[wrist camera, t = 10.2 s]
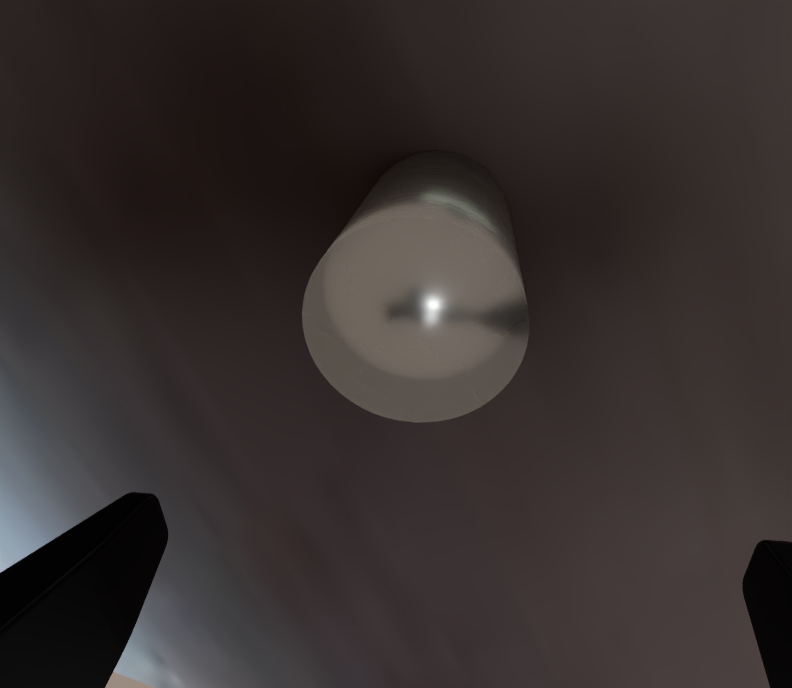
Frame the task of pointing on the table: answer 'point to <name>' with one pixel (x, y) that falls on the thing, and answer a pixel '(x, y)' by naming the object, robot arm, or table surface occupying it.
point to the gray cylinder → (421, 294)
